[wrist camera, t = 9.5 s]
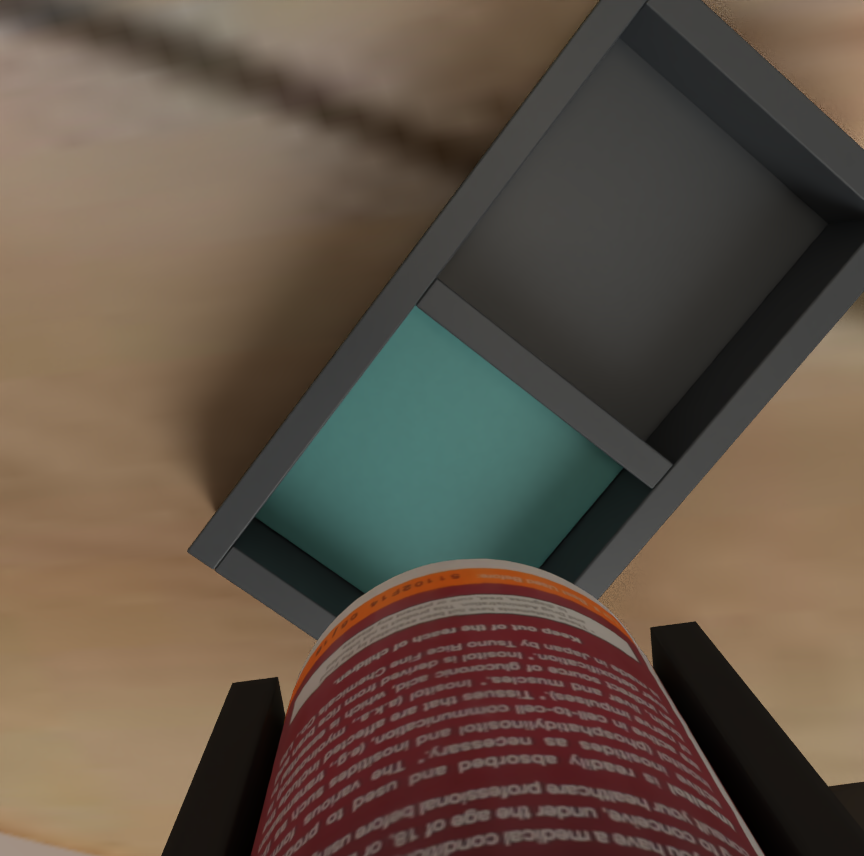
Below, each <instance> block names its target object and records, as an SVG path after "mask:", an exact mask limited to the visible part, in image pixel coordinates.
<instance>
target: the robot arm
mask: <svg viewBox="0 0 864 856" xmlns="http://www.w3.org/2000/svg"><path fill="white" fill-rule="evenodd" d="M650 630H651V644H652V657H653V668H654V670H655V672H656V674H657V675H658V677H659V678H660V680H661V682H662V683H663V685H664V687H665V689H666V690H667V692H668V693H669V695H670V697H671V699H672V700H673V702H674V704H675V705H676V707H677V709H678V711H679V712H680V714H681V715H682V717H683V718H684V720H685V722H686V723H687V725H688V727H689V728H690V730H691V732H692V734H693V736H694V737H695V739H696V741H697V743H698V744H699V746H700V748H701V749H702V751H703V753H704V754H705V756H706V757H707V759H708V761H709V762H710V764H711V766H712V767H713V769H714V771H715V772H716V774H717V776H718V777H719V779H720V781H721V782H722V784H723V786H724V787H725V789H726V791H727V792H728V794H729V796H730V797H731V799H732V801H733V802H734V804H735V806H736V808H737V809H738V811H739V813H740V814H741V816H742V818H743V819H744V821H745V823H746V824H747V826H748V828H749V829H750V831H751V833H752V834H753V836H754V838H755V839H756V841H757V842H758V844H759V846H760V847H761V849H762V851H763V852H764V854H765V856H864V782H859V783H851V784H844V785H836V786H829V787H828V786H827V784H826V783H825V782H824V781H823V779H822V778H821V777H820V776H819V775H818V773H817V772H816V771H815V770H814V768H813V767H812V766H811V765H810V763H809V762H808V761H807V760H806V758H805V757H804V756H803V755H802V753H801V752H800V751H799V750H798V748H797V747H796V746H795V745H794V743H793V742H792V741H791V740H790V738H789V737H788V736H787V735H786V733H785V732H784V731H783V730H782V728H781V727H780V726H779V725H778V724H777V722H776V721H775V720H774V719H773V717H772V716H771V715H770V714H769V712H768V711H767V710H766V709H765V707H764V706H763V705H762V704H761V702H760V701H759V700H758V699H757V697H756V696H755V695H754V694H753V692H752V691H751V690H750V689H749V687H748V686H747V685H746V684H745V682H744V681H743V680H742V679H741V677H740V676H739V675H738V674H737V672H736V671H735V670H734V669H733V668H732V666H731V665H730V664H729V663H728V661H727V660H726V659H725V658H724V656H723V655H722V654H721V653H720V651H719V650H718V649H717V648H716V646H715V645H714V644H713V643H712V641H711V640H710V639H709V638H708V636H707V635H706V634H705V633H704V631H703V630H702V629H701V628H700V626H699V625H698V624H697V623H696V622H688V623H680V624H673V625H665V626H658V627H650ZM284 721H285V712H284V707H283V701H282V696H281V691H280V685H279V680H278V677H274V678H266V679H259V680H251V681H244V682H236V683H232V685H231V688H230V690H229V693H228V695H227V698H226V700H225V702H224V705H223V707H222V710H221V712H220V715H219V717H218V719H217V722H216V724H215V727H214V729H213V732H212V734H211V736H210V739H209V741H208V744H207V746H206V749H205V751H204V753H203V756H202V758H201V761H200V763H199V766H198V768H197V770H196V773H195V775H194V778H193V780H192V783H191V785H190V787H189V790H188V792H187V795H186V797H185V799H184V802H183V804H182V807H181V809H180V812H179V814H178V816H177V819H176V821H175V824H174V826H173V829H172V831H171V833H170V836H169V838H168V841H167V843H166V846H165V848H164V850H163V853H162V855H161V856H251V852H252V848H253V844H254V841H255V837H256V833H257V829H258V825H259V821H260V817H261V813H262V809H263V805H264V801H265V797H266V792H267V788H268V784H269V781H270V777H271V774H272V769H273V765H274V761H275V757H276V753H277V749H278V745H279V741H280V737H281V734H282V730H283V726H284Z"/></svg>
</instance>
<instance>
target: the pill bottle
mask: <svg viewBox="0 0 864 856" xmlns="http://www.w3.org/2000/svg"><path fill="white" fill-rule="evenodd" d="M251 856H765V854H764V852H763V851H762V849H761V847H760V846H759V844H758V842H757V841H756V839H755V838H754V836H753V834H752V833H751V831H750V829H749V828H748V826H747V824H746V823H745V821H744V819H743V818H742V816H741V814H740V813H739V811H738V809H737V808H736V806H735V804H734V802H733V801H732V799H731V797H730V796H729V794H728V792H727V791H726V789H725V787H724V786H723V784H722V782H721V781H720V779H719V777H718V776H717V774H716V772H715V771H714V769H713V767H712V766H711V764H710V762H709V761H708V759H707V757H706V756H705V754H704V753H703V751H702V749H701V748H700V746H699V744H698V743H697V741H696V739H695V737H694V736H693V734H692V732H691V730H690V728H689V727H688V725H687V723H686V722H685V720H684V718H683V717H682V715H681V714H680V712H679V711H678V709H677V707H676V705H675V704H674V702H673V700H672V699H671V697H670V695H669V693H668V692H667V690H666V689H665V687H664V685H663V683H662V682H661V680H660V678H659V677H658V675H657V674H656V672H655V670H654V668H653V667H652V665H651V663H650V662H649V660H648V659H647V657H646V656H645V654H644V653H643V652H642V651H641V649H640V648H639V646H638V645H637V643H636V642H635V640H634V639H633V637H632V636H631V634H630V633H629V632H628V631H627V629H626V628H625V627H624V625H623V624H622V623H621V622H620V621H619V620H618V619H617V617H616V616H615V615H614V614H613V613H612V612H611V611H610V610H608V609H607V608H606V607H605V606H604V605H603V604H602V603H600V602H599V601H598V600H597V599H595V598H594V597H593V596H591V595H590V594H588V593H587V592H585V591H584V590H582V589H580V588H579V587H577V586H575V585H574V584H572V583H570V582H568V581H566V580H565V579H563V578H560V577H558V576H556V575H554V574H552V573H549V572H546V571H544V570H541V569H538V568H535V567H532V566H528V565H524V564H520V563H515V562H510V561H505V560H494V559H459V560H450V561H443V562H437V563H432V564H428V565H424V566H421V567H418V568H415V569H412V570H409V571H406V572H404V573H402V574H399V575H397V576H395V577H393V578H391V579H389V580H387V581H385V582H383V583H381V584H380V585H378V586H376V587H374V588H373V589H371V590H370V591H368V592H367V593H365V594H364V595H362V596H361V597H359V598H358V599H357V600H355V601H354V602H353V603H352V604H351V605H349V606H348V607H347V608H346V609H345V610H344V611H343V612H342V613H341V614H340V615H339V616H338V617H337V618H336V619H335V620H334V621H333V622H332V623H331V624H330V625H329V627H328V628H327V629H326V630H325V631H324V633H323V634H322V635H321V637H320V638H319V639H318V641H317V642H316V644H315V645H314V647H313V648H312V650H311V652H310V654H309V655H308V657H307V659H306V661H305V663H304V665H303V667H302V670H301V672H300V674H299V676H298V679H297V682H296V686H295V688H294V690H293V694H292V697H291V700H290V703H289V706H288V710H287V713H286V717H285V721H284V726H283V730H282V734H281V737H280V741H279V745H278V749H277V753H276V757H275V761H274V765H273V769H272V774H271V777H270V781H269V784H268V788H267V792H266V797H265V801H264V805H263V809H262V813H261V817H260V821H259V825H258V829H257V833H256V837H255V841H254V844H253V848H252V852H251Z"/></svg>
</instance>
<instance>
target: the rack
mask: <svg viewBox="0 0 864 856" xmlns="http://www.w3.org/2000/svg"><path fill="white" fill-rule="evenodd" d="M863 292H864V149H863V148H861V147H860V146H859V145H858V144H857V143H856V142H855V141H854V140H853V139H852V138H851V137H850V136H848V135H847V134H846V133H845V132H844V131H843V130H842V129H841V128H840V127H839V126H838V125H836V124H835V123H834V122H833V121H832V120H831V119H830V118H829V117H828V116H827V115H826V114H824V113H823V112H822V111H821V110H820V109H819V108H818V107H817V106H816V105H815V104H814V103H812V102H811V101H810V100H809V99H808V98H807V97H806V96H805V95H804V94H803V93H802V92H801V91H799V90H798V89H797V88H796V87H795V86H794V85H793V84H792V83H791V82H790V81H789V80H787V79H786V78H785V77H784V76H783V75H782V74H781V73H780V72H779V71H778V70H777V69H775V68H774V67H773V66H772V65H771V64H770V63H769V62H768V61H767V60H766V59H765V58H763V57H762V56H761V55H760V54H759V53H758V52H757V51H756V50H755V49H754V48H753V47H751V46H750V45H749V44H748V43H747V42H746V41H745V40H744V39H743V38H742V37H741V36H740V35H738V34H737V33H736V32H735V31H734V30H733V29H732V28H731V27H730V26H729V25H728V24H726V23H725V22H724V21H723V20H722V19H721V18H720V17H719V16H718V15H717V14H716V13H714V12H713V11H712V10H711V9H710V8H709V7H708V6H707V5H706V4H705V3H704V2H702V1H701V0H599V2H598V3H597V4H596V6H595V7H594V8H593V10H592V11H591V12H590V14H589V15H588V16H587V18H586V19H585V20H584V22H583V23H582V24H581V26H580V27H579V28H578V30H577V31H576V32H575V34H574V35H573V36H572V38H571V39H570V40H569V42H568V43H567V44H566V46H565V47H564V48H563V50H562V51H561V52H560V54H559V55H558V56H557V58H556V59H555V60H554V62H553V63H552V64H551V66H550V67H549V68H548V70H547V71H546V72H545V74H544V75H543V76H542V78H541V79H540V80H539V82H538V83H537V84H536V86H535V87H534V88H533V90H532V91H531V92H530V94H529V95H528V96H527V98H526V99H525V100H524V102H523V103H522V104H521V106H520V107H519V108H518V110H517V111H516V112H515V114H514V115H513V116H512V118H511V119H510V120H509V122H508V123H507V124H506V126H505V127H504V128H503V130H502V131H501V132H500V134H499V135H498V136H497V138H496V139H495V140H494V142H493V143H492V144H491V146H490V147H489V148H488V150H487V151H486V152H485V154H484V155H483V156H482V158H481V159H480V160H479V162H478V163H477V164H476V166H475V167H474V168H473V170H472V171H471V172H470V174H469V175H468V176H467V178H466V179H465V180H464V182H463V183H462V184H461V186H460V187H459V188H458V190H457V191H456V192H455V194H454V195H453V196H452V198H451V199H450V200H449V202H448V203H447V204H446V206H445V207H444V208H443V210H442V211H441V212H440V214H439V215H438V216H437V218H436V219H435V220H434V222H433V223H432V224H431V226H430V227H429V228H428V230H427V231H426V232H425V234H424V235H423V236H422V238H421V239H420V240H419V242H418V243H417V244H416V246H415V247H414V248H413V250H412V251H411V252H410V254H409V255H408V256H407V258H406V259H405V260H404V262H403V263H402V264H401V266H400V267H399V268H398V270H397V271H396V272H395V274H394V275H393V276H392V278H391V279H390V280H389V282H388V283H387V284H386V286H385V287H384V288H383V290H382V291H381V292H380V294H379V295H378V296H377V298H376V299H375V300H374V302H373V303H372V304H371V306H370V307H369V308H368V310H367V311H366V312H365V314H364V315H363V316H362V318H361V319H360V320H359V322H358V323H357V324H356V326H355V327H354V328H353V330H352V331H351V332H350V334H349V335H348V336H347V338H346V339H345V340H344V342H343V343H342V344H341V346H340V347H339V348H338V350H337V351H336V352H335V354H334V355H333V356H332V358H331V359H330V360H329V362H328V363H327V364H326V366H325V367H324V368H323V370H322V371H321V372H320V374H319V375H318V376H317V378H316V379H315V380H314V382H313V383H312V384H311V386H310V387H309V388H308V390H307V391H306V392H305V394H304V395H303V396H302V398H301V399H300V400H299V402H298V403H297V404H296V406H295V407H294V408H293V410H292V411H291V412H290V414H289V415H288V416H287V418H286V419H285V420H284V422H283V423H282V424H281V426H280V427H279V428H278V430H277V431H276V432H275V434H274V435H273V436H272V438H271V439H270V440H269V442H268V443H267V444H266V446H265V447H264V448H263V450H262V451H261V452H260V454H259V455H258V456H257V458H256V459H255V460H254V462H253V463H252V464H251V466H250V467H249V468H248V470H247V471H246V472H245V474H244V475H243V476H242V478H241V479H240V480H239V482H238V483H237V484H236V486H235V487H234V488H233V490H232V491H231V492H230V494H229V495H228V496H227V498H226V499H225V500H224V502H223V503H222V504H221V506H220V507H219V508H218V510H217V511H216V512H215V514H214V515H213V517H212V518H211V519H210V521H209V522H208V523H207V525H206V526H205V527H204V529H203V530H202V531H201V533H200V534H199V535H198V537H197V538H196V539H195V541H194V542H193V543H192V545H191V546H190V547H189V549H188V550H187V552H188V553H189V554H191V555H192V556H194V557H195V558H197V559H198V560H200V561H201V562H203V563H204V564H206V565H207V566H209V567H210V568H212V569H215V571H216V572H217V573H219V574H220V575H222V576H223V577H225V578H226V579H228V580H229V581H230V582H232V583H233V584H235V585H236V586H238V587H239V588H241V589H242V590H244V591H245V592H247V593H248V594H250V595H251V596H253V597H254V598H256V599H257V600H259V601H260V602H261V603H263V604H264V605H266V606H267V607H269V608H270V609H272V610H273V611H275V612H276V613H278V614H279V615H281V616H282V617H284V618H285V619H287V620H288V621H290V622H291V623H292V624H294V625H295V626H297V627H298V628H300V629H301V630H303V631H304V632H306V633H307V634H309V635H310V636H312V637H313V638H315V639H316V640H318V639H319V638H320V637H321V635H322V634H323V633H324V631H325V630H326V629H327V628H328V627H329V625H330V624H331V623H332V622H333V621H334V620H335V619H336V618H337V617H338V616H339V615H340V614H341V613H342V612H343V611H344V610H345V609H346V608H347V607H348V606H349V605H351V604H352V603H353V602H354V601H355V600H357V599H358V598H359V597H361V596H362V595H364V594H365V593H367V592H368V591H370V590H371V589H373V588H374V587H376V586H378V585H380V584H381V583H383V582H385V581H387V580H389V579H391V578H393V577H395V576H397V575H399V574H402V573H404V572H406V571H409V570H412V569H415V568H418V567H421V566H424V565H428V564H432V563H437V562H443V561H450V560H459V559H494V560H505V561H510V562H515V563H520V564H524V565H528V566H532V567H535V568H538V569H541V570H544V571H546V572H549V573H552V574H554V575H556V576H558V577H560V578H563V579H565V580H566V581H568V582H570V583H572V584H574V585H575V586H577V587H579V588H580V589H582V590H584V591H585V592H587V593H588V594H590V595H591V596H593V597H594V598H595V599H597V600H598V599H599V598H600V597H601V596H602V594H603V593H604V592H605V591H606V590H607V589H608V587H609V586H610V585H611V584H612V583H613V582H614V580H615V579H616V578H617V577H618V576H619V575H620V574H621V572H622V571H623V570H624V569H625V568H626V567H627V565H628V564H629V563H630V562H631V561H632V560H633V558H634V557H635V556H636V555H637V554H638V553H639V551H640V550H641V549H642V548H643V547H644V546H645V545H646V543H647V542H648V541H649V540H650V539H651V538H652V536H653V535H654V534H655V533H656V532H657V531H658V529H659V528H660V527H661V526H662V525H663V524H664V522H665V521H666V520H667V519H668V518H669V517H670V515H671V514H672V513H673V512H674V511H675V510H676V509H677V507H678V506H679V505H680V504H681V503H682V502H683V500H684V499H685V498H686V497H687V496H688V495H689V493H690V492H691V491H692V490H693V489H694V488H695V486H696V485H697V484H698V483H699V482H700V481H701V480H702V478H703V477H704V476H705V475H706V474H707V473H708V471H709V470H710V469H711V468H712V467H713V466H714V464H715V463H716V462H717V461H718V460H719V459H720V457H721V456H722V455H723V454H724V453H725V452H726V450H727V449H728V448H729V447H730V446H731V445H732V444H733V442H734V441H735V440H736V439H737V438H738V437H739V435H740V434H741V433H742V432H743V431H744V430H745V428H746V427H747V426H748V425H749V424H750V423H751V421H752V420H753V419H754V418H755V417H756V416H757V415H758V413H759V412H760V411H761V410H762V409H763V408H764V406H765V405H766V404H767V403H768V402H769V401H770V399H771V398H772V397H773V396H774V395H775V394H776V392H777V391H778V390H779V389H780V388H781V387H782V386H783V384H784V383H785V382H786V381H787V380H788V379H789V377H790V376H791V375H792V374H793V373H794V372H795V370H796V369H797V368H798V367H799V366H800V365H801V363H802V362H803V361H804V360H805V359H806V358H807V356H808V355H809V354H810V353H811V352H812V351H813V350H814V348H815V347H816V346H817V345H818V344H819V343H820V341H821V340H822V339H823V338H824V337H825V336H826V334H827V333H828V332H829V331H830V330H831V329H832V327H833V326H834V325H835V324H836V323H837V322H838V321H839V319H840V318H841V317H842V316H843V315H844V314H845V312H846V311H847V310H848V309H849V308H850V307H851V305H852V304H853V303H854V302H855V301H856V300H857V298H858V297H859V296H860V295H861V294H862V293H863Z"/></svg>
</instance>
